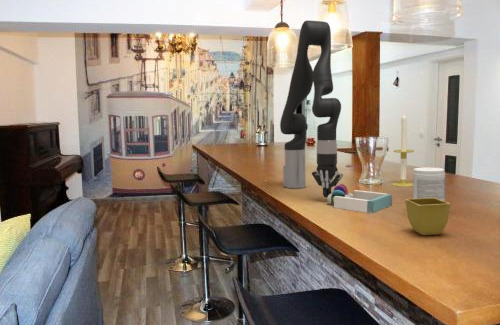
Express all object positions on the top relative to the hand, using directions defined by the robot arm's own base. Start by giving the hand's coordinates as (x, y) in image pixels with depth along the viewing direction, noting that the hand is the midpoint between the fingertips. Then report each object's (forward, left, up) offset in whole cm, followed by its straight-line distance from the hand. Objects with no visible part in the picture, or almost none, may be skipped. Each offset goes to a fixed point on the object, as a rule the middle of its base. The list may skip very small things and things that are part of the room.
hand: (327, 197), depth 163 cm
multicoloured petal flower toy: (+6, -1, -2) cm, 7 cm away
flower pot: (+45, -19, -2) cm, 49 cm away
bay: (+15, 0, -2) cm, 15 cm away
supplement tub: (+37, +3, -2) cm, 37 cm away
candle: (+8, +49, -2) cm, 50 cm away
